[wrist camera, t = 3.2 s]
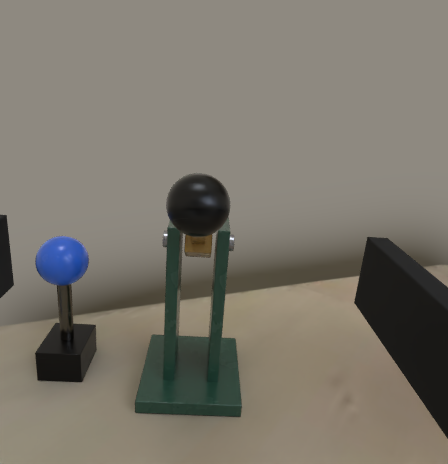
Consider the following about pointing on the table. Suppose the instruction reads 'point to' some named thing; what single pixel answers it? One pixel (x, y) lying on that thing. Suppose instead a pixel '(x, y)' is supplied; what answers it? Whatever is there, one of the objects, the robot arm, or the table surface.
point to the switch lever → (198, 211)
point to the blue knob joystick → (64, 313)
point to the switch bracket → (192, 347)
